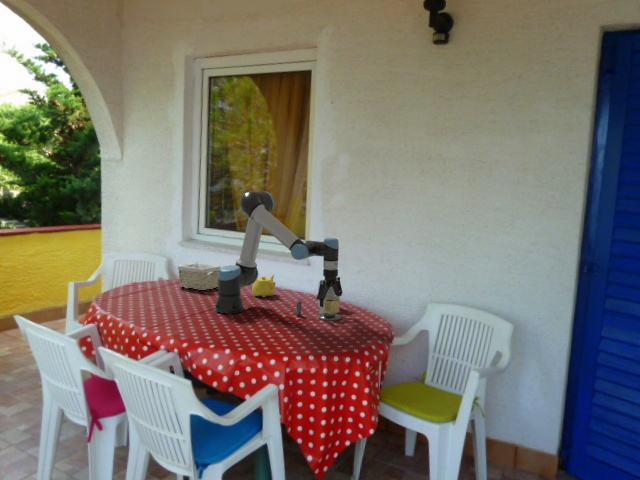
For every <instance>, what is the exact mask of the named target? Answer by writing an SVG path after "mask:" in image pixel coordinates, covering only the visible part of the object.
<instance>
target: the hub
mask: <svg viewBox="0 0 640 480" xmlns="http://www.w3.org/2000/svg"><path fill="white" fill-rule="evenodd" d="M317 319H318V320H322V321H327V322H328V321H329V322H333V321H334V322H335V321H339V320H341V319H342V316H341V315H340V314H338V313H334V314H327V313H320V314H318V315H317Z"/></svg>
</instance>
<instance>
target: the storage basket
mask: <svg viewBox="0 0 640 480" xmlns="http://www.w3.org/2000/svg"><path fill="white" fill-rule="evenodd" d="M220 268H222V266H220V265H217V264H210V263H209V264H208V263H203V262H199V261H198V262H197V261H196V262H190V263H183V264H179V265H178V267H177V270H178V280H179V286H180V285H182V286H186V287H191V288H195V289H200V290H205V289H211V288H215V287H218V272H219V269H220Z"/></svg>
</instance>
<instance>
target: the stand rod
mask: <svg viewBox="0 0 640 480" xmlns="http://www.w3.org/2000/svg"><path fill="white" fill-rule="evenodd" d="M301 316H302V300H296V317H301Z"/></svg>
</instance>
